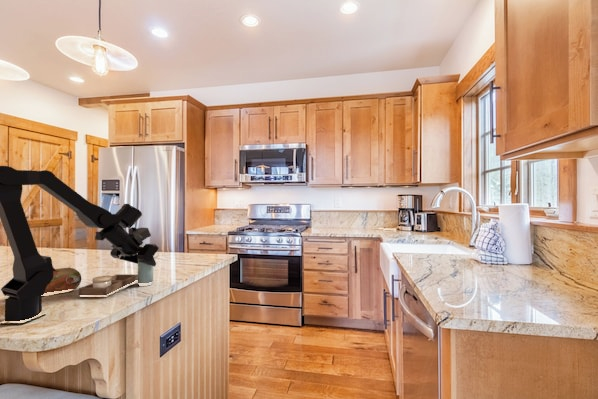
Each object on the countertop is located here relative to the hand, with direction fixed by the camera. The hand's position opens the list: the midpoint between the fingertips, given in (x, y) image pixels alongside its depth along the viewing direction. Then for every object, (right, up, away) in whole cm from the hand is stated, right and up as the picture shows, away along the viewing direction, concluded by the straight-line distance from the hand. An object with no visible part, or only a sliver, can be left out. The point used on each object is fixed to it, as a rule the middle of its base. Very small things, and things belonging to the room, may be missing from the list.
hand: (148, 264), depth 104 cm
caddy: (-9, -7, -7) cm, 14 cm away
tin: (-25, -7, -12) cm, 29 cm away
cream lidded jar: (-9, -7, -12) cm, 16 cm away
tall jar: (-1, -7, -1) cm, 7 cm away
